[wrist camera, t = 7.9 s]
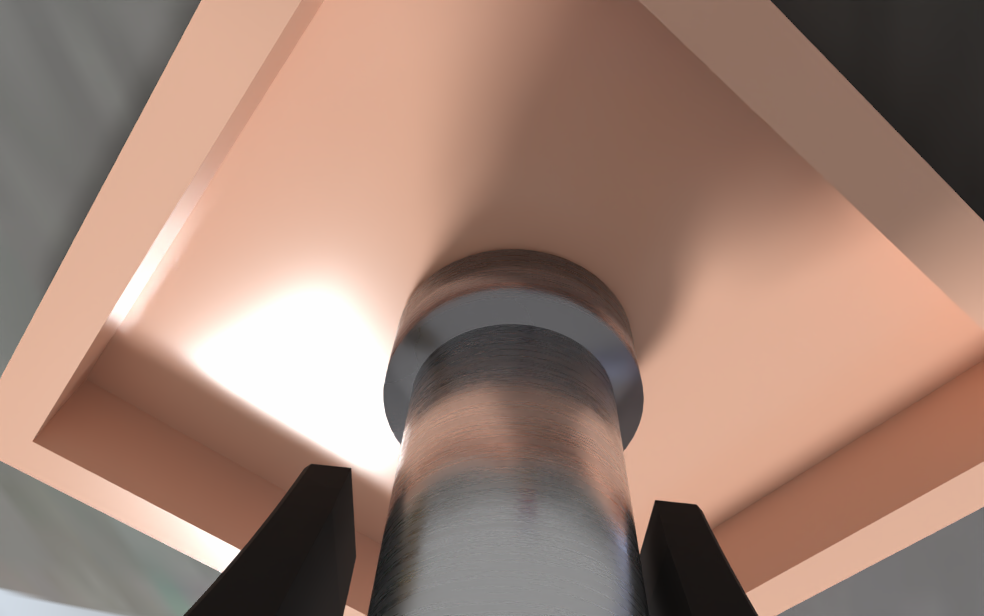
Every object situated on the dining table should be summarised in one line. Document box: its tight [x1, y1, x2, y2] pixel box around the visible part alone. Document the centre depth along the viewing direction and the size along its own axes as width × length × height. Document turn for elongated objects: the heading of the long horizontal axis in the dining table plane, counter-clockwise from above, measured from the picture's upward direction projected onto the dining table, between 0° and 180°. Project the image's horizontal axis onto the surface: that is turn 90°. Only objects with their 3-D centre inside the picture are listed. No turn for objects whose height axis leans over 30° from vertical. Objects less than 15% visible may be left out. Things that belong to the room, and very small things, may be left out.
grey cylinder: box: [367, 249, 649, 616], centre depth 11 cm, size 5×5×8 cm
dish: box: [0, 0, 984, 616], centre depth 14 cm, size 15×15×2 cm
